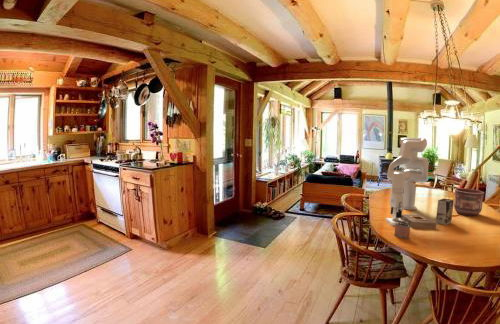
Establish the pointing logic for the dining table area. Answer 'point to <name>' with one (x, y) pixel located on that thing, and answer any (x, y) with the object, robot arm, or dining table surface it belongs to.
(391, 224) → the white square base plate
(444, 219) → the coffee box
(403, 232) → the lighter
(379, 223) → the dining table surface
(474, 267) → the dining table surface
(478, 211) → the pottery
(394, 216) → the peg
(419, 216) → the plate
